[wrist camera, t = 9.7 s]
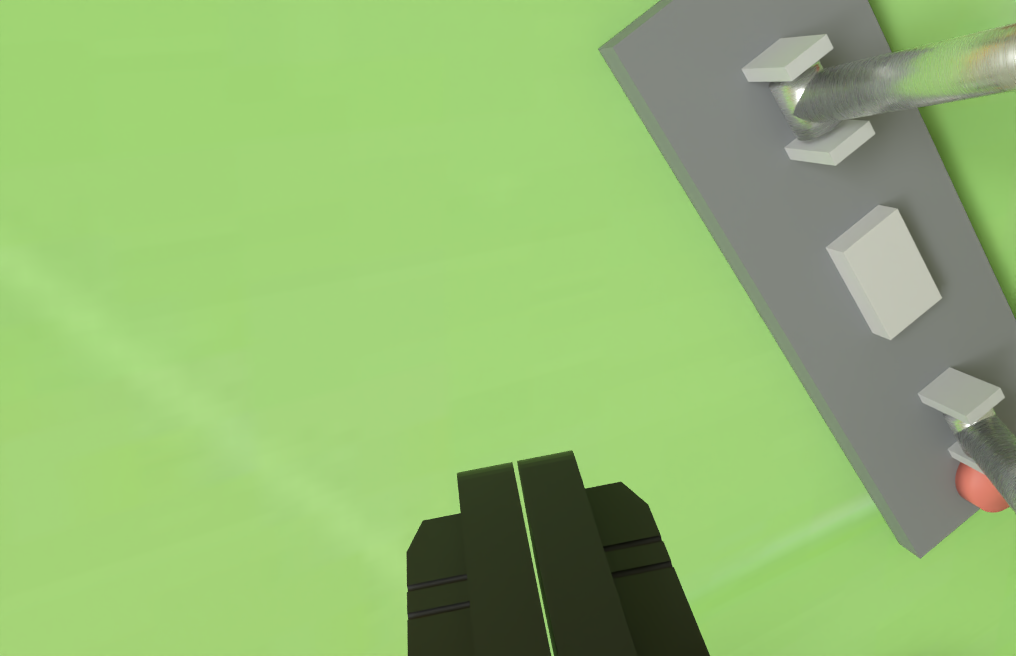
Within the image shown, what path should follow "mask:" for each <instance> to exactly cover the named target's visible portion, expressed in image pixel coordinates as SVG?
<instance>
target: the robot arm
mask: <svg viewBox="0 0 1016 656" xmlns="http://www.w3.org/2000/svg"><path fill="white" fill-rule="evenodd" d="M517 463H518V469H519V475H520V480H521V486H522V492H523V497H524V503H525V508H526V514H527V519H528V525H529V530H530V536H531V541H532V547H533V552H534V558H535V563H536V568H537V574H538V579H539V584H540V589H541V594H542V599H543V604H544V609H545V614H546V619H547V624H548V628H549V633H550V638H551V643H552V648H553V653H554V656H710V655H709V652H708V650H707V647H706V645H705V643H704V640H703V638H702V635H701V633H700V630H699V628H698V625H697V623H696V621H695V618H694V616H693V613H692V611H691V608H690V606H689V603H688V601H687V599H686V596H685V594H684V591H683V589H682V586H681V584H680V581H679V579H678V577H677V574H676V572H675V569H674V567H672V564H671V559H670V557H669V555H668V552H667V550H666V547H665V545H664V542H663V541H662V540H661V535H660V533H659V530H658V528H657V525H656V523H655V520H654V518H653V515H652V513H651V511H650V508H649V506H648V504H647V503H646V502H644V501H643V500H642V499H641V498H640V497H638V496H637V495H636V494H635V493H634V492H633V491H631V490H630V489H629V488H628V487H627V486H626V485H624V484H623V483H622V482H617V483H612V484H607V485H602V486H597V487H592V488H587V489H585V488H584V485H583V481H582V478H581V475H580V472H579V469H578V466H577V462H576V459H575V456H574V453H573V451H566V452H561V453H556V454H551V455H546V456H541V457H535V458H530V459H525V460H520V461H517ZM457 480H458V490H459V500H460V510H461V513H460V514H455V515H450V516H444V517H439V518H434V519H429V520H424V521H422V523H421V525H420V527H419V529H418V531H417V533H416V535H415V537H414V539H413V541H412V543H411V545H410V547H409V549H408V551H407V587H408V592H407V614H408V620H407V622H408V656H551V653H550V648H549V643H548V638H547V633H546V628H545V623H544V618H543V613H542V608H541V603H540V598H539V593H538V588H537V583H536V578H535V573H534V568H533V563H532V558H531V553H530V548H529V543H528V538H527V533H526V528H525V523H524V518H523V513H522V508H521V503H520V498H519V493H518V488H517V483H516V478H515V473H514V468H513V463H512V462H511V463H506V464H501V465H495V466H490V467H485V468H480V469H475V470H470V471H464V472H459V473H457Z"/></svg>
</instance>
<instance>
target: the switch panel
mask: <svg viewBox="0 0 1016 656" xmlns="http://www.w3.org/2000/svg"><path fill="white" fill-rule="evenodd" d="M598 50H599V51H600V53H601V54H602V56H603V58H604V59H605V61H606V63H607V64H608V66H609V68H610V69H611V71H612V72H613V74H614V76H615V77H616V79H617V81H618V82H619V84H620V86H621V87H622V89H623V91H624V92H625V94H626V95H627V97H628V99H629V100H630V102H631V104H632V105H633V107H634V109H635V110H636V112H637V114H638V115H639V117H640V118H641V120H642V122H643V123H644V125H645V127H646V128H647V130H648V132H649V133H650V135H651V137H652V138H653V140H654V141H655V143H656V145H657V146H658V148H659V150H660V151H661V153H662V155H663V156H664V158H665V159H666V161H667V163H668V164H669V166H670V168H671V169H672V171H673V173H674V174H675V176H676V178H677V179H678V181H679V182H680V184H681V186H682V187H683V189H684V191H685V192H686V194H687V196H688V197H689V199H690V201H691V202H692V204H693V205H694V207H695V209H696V210H697V212H698V214H699V215H700V217H701V219H702V220H703V222H704V224H705V225H706V227H707V228H708V230H709V232H710V233H711V235H712V237H713V238H714V240H715V242H716V243H717V245H718V246H719V248H720V250H721V251H722V253H723V255H724V256H725V258H726V260H727V261H728V263H729V265H730V266H731V268H732V269H733V271H734V273H735V274H736V276H737V278H738V279H739V281H740V283H741V284H742V286H743V288H744V289H745V291H746V292H747V294H748V296H749V297H750V299H751V301H752V302H753V304H754V306H755V307H756V309H757V311H758V312H759V314H760V315H761V317H762V319H763V320H764V322H765V324H766V325H767V327H768V329H769V330H770V332H771V333H772V335H773V337H774V338H775V340H776V342H777V343H778V345H779V347H780V348H781V350H782V352H783V353H784V355H785V356H786V358H787V360H788V361H789V363H790V365H791V366H792V368H793V370H794V371H795V373H796V375H797V376H798V378H799V379H800V381H801V383H802V384H803V386H804V388H805V389H806V391H807V393H808V394H809V396H810V398H811V399H812V401H813V402H814V404H815V406H816V407H817V409H818V411H819V412H820V414H821V416H822V417H823V419H824V420H825V422H826V424H827V425H828V427H829V429H830V430H831V432H832V434H833V435H834V437H835V439H836V440H837V442H838V443H839V445H840V447H841V448H842V450H843V452H844V453H845V455H846V457H847V458H848V460H849V462H850V463H851V465H852V466H853V468H854V470H855V471H856V473H857V475H858V476H859V478H860V480H861V481H862V483H863V485H864V486H865V488H866V489H867V491H868V493H869V494H870V496H871V498H872V499H873V501H874V503H875V504H876V506H877V507H878V509H879V511H880V512H881V514H882V516H883V517H884V519H885V521H886V522H887V524H888V526H889V527H890V529H891V530H892V532H893V534H894V535H895V537H896V539H897V540H898V542H899V544H900V545H902V546H903V547H905V548H906V549H907V550H909V551H910V552H912V553H913V554H914V555H916V556H917V557H919V558H922V557H923V556H924V555H925V554H926V553H928V552H929V551H930V550H931V549H932V548H934V547H935V546H936V545H937V544H938V543H939V542H941V541H942V540H943V539H944V538H945V537H947V536H948V535H949V534H950V533H951V532H953V531H954V530H955V529H956V528H957V527H959V526H960V525H961V524H962V523H963V522H965V521H966V520H967V519H968V518H969V517H971V516H972V515H973V514H974V513H975V512H976V511H978V510H979V509H980V508H981V509H982V510H984V511H987V512H999V511H1002V510H1004V509H1006V508H1008V507H1010V506H1009V505H1008V503H1007V502H1006V501H1005V500H1004V498H1003V497H1002V496H1001V494H1000V493H999V492H998V491H997V489H996V488H995V487H994V485H993V484H992V483H991V482H990V480H989V479H988V478H987V477H986V475H985V474H984V473H983V471H982V470H981V469H980V468H979V466H978V465H977V464H976V463H975V461H974V460H973V459H972V458H971V457H968V456H967V455H965V454H964V452H963V451H962V449H961V447H960V445H959V443H958V441H957V440H956V438H955V436H954V434H953V432H952V430H951V428H950V427H949V425H948V423H947V421H946V419H945V417H944V415H943V413H945V414H947V415H950V416H952V417H954V418H956V419H958V420H960V421H962V422H964V423H966V424H968V425H970V426H971V425H972V424H974V423H975V422H976V421H977V420H979V419H980V418H981V417H982V416H983V415H985V414H986V413H987V412H988V411H989V410H991V409H992V408H993V409H994V411H995V413H996V415H997V416H998V417H999V419H1000V420H1001V421H1002V422H1003V423H1004V424H1005V425H1006V426H1007V427H1008V429H1009V430H1010V431H1011V432H1012V433H1013V434H1014V435H1015V436H1016V320H1015V317H1014V315H1013V313H1012V311H1011V309H1010V307H1009V305H1008V302H1007V300H1006V298H1005V296H1004V294H1003V292H1002V289H1001V287H1000V285H999V283H998V281H997V279H996V276H995V274H994V272H993V270H992V268H991V266H990V263H989V261H988V259H987V257H986V255H985V253H984V250H983V248H982V246H981V244H980V242H979V240H978V238H977V235H976V233H975V231H974V229H973V227H972V225H971V222H970V220H969V218H968V216H967V214H966V212H965V209H964V207H963V205H962V203H961V201H960V199H959V196H958V194H957V192H956V190H955V188H954V186H953V184H952V181H951V179H950V177H949V175H948V173H947V171H946V168H945V166H944V164H943V162H942V160H941V158H940V155H939V153H938V151H937V149H936V147H935V145H934V142H933V140H932V138H931V136H930V134H929V132H928V129H927V127H926V125H925V123H924V121H923V119H922V117H921V114H920V112H919V110H918V108H912V109H906V110H900V111H894V112H888V113H882V114H876V115H870V116H865V117H859V118H853V119H847V120H842V121H841V123H840V124H838V125H837V126H836V127H835V128H833V129H832V130H830V131H829V132H827V133H825V134H823V135H821V136H819V137H817V138H814V139H811V140H806V141H800V140H797V138H796V137H795V135H794V133H793V131H792V129H791V127H790V125H789V124H788V122H787V120H786V118H785V116H784V114H783V112H782V110H781V109H780V107H779V105H778V103H777V101H776V99H775V97H774V95H773V94H772V92H771V90H770V88H769V84H770V82H782V81H793V80H794V79H795V78H797V77H798V76H799V75H800V74H802V73H803V72H804V71H806V70H807V69H808V68H809V67H811V66H812V65H813V64H814V63H816V62H817V61H818V60H819V61H820V63H821V65H822V67H823V69H824V68H829V67H833V66H837V65H841V64H845V63H850V62H854V61H858V60H862V59H866V58H871V57H875V56H879V55H883V54H887V53H892V52H891V50H890V47H889V45H888V43H887V41H886V39H885V37H884V34H883V32H882V30H881V28H880V26H879V24H878V21H877V19H876V17H875V15H874V13H873V11H872V8H871V6H870V4H869V2H868V0H660V1H659V2H658V3H657V4H655V5H654V6H653V7H651V8H650V9H649V10H648V11H646V12H645V13H644V14H642V15H641V16H640V17H639V18H637V19H636V20H635V21H633V22H632V23H631V24H630V25H628V26H627V27H626V28H624V29H623V30H622V31H621V32H619V33H618V34H617V35H615V36H614V37H613V38H612V39H610V40H609V41H608V42H606V43H605V44H604V45H603V46H601V47H600V48H599V49H598Z"/></svg>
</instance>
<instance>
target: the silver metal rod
mask: <svg viewBox="0 0 1016 656" xmlns="http://www.w3.org/2000/svg"><path fill="white" fill-rule="evenodd" d="M943 415H944V417H945V419H946V421H947V423H948V425H949V427H950V428H951V430H952V432H953V434H954V436H955V438H956V440H957V441H958V443H959V445H960V447H961V449H962V451H963V452H964V454H965V455H967V456H968V457H971V458H972V459H973V460H974V461H975V463H976V464H977V465H978V466H979V468H980V469H981V470H982V471H983V473H984V474H985V475H986V477H987V478H988V479H989V480H990V482H991V483H992V484H993V485H994V487H995V488H996V489H997V491H998V492H999V493H1000V494H1001V496H1002V497H1003V498H1004V500H1005V501H1006V502H1007V503H1008V505H1009V506H1010V507H1011V508H1012V510H1013V511H1014V512H1015V514H1016V436H1015V435H1014V434H1013V433H1012V432H1011V431H1010V430H1009V429H1008V427H1007V426H1006V425H1005V424H1004V423H1003V422H1002V421H1001V420H1000V419H999V417H998V416H997V415H996V413H995V411H994V409H993V408H992V409H991V410H989V411H988V412H987V413H986V414H985V415H983V416H982V417H981V418H980V419H979V420H977V421H976V422H975V423H974V424H972V425H971V426H970V425H968V424H966V423H964V422H962V421H960V420H958V419H956V418H954V417H952V416H950V415H947V414H945V413H943Z"/></svg>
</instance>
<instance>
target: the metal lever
mask: <svg viewBox="0 0 1016 656" xmlns="http://www.w3.org/2000/svg"><path fill="white" fill-rule="evenodd" d="M769 88H770V90H771V92H772V94H773V95H774V97H775V99H776V101H777V103H778V105H779V107H780V109H781V110H782V112H783V114H784V116H785V118H786V120H787V122H788V124H789V125H790V127H791V129H792V131H793V133H794V135H795V137H796V138H797V140H800V141H806V140H811V139H814V138H817V137H819V136H821V135H823V134H825V133H827V132H829V131H830V130H832V129H833V128H835V127H836V126H837V125H838V124H840V123H841V121H842V120H847V119H853V118H859V117H865V116H870V115H876V114H882V113H888V112H894V111H900V110H906V109H912V108H918V107H924V106H930V105H936V104H942V103H947V102H953V101H959V100H965V99H971V98H977V97H983V96H989V95H995V94H1001V93H1007V92H1013V91H1016V23H1013V24H1009V25H1005V26H1001V27H996V28H992V29H988V30H984V31H980V32H975V33H971V34H967V35H963V36H959V37H954V38H950V39H946V40H942V41H938V42H934V43H929V44H925V45H921V46H917V47H913V48H908V49H904V50H900V51H896V52H892V53H887V54H883V55H879V56H875V57H871V58H866V59H862V60H858V61H854V62H850V63H845V64H841V65H837V66H833V67H829V68H824V69H823V67H822V65H821V63H820V61H819V60H818V61H817V62H816V63H814V64H813V65H812V66H811V67H809V68H808V69H807V70H806V71H804V72H803V73H802V74H800V75H799V76H798V77H797V78H795V79H794V80H793V81H782V82H770V84H769Z"/></svg>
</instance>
